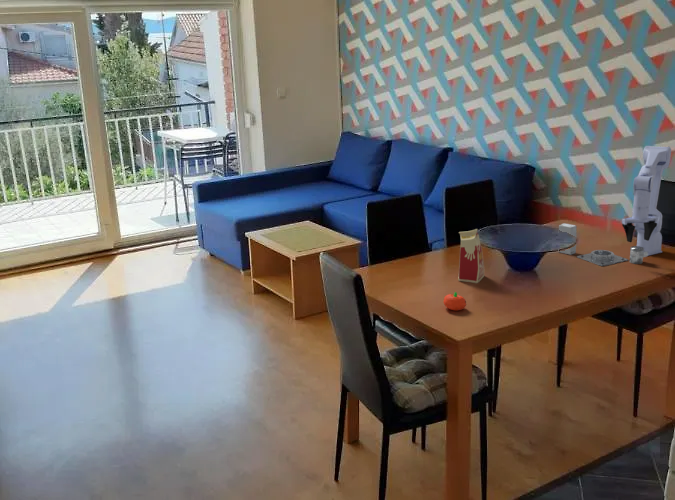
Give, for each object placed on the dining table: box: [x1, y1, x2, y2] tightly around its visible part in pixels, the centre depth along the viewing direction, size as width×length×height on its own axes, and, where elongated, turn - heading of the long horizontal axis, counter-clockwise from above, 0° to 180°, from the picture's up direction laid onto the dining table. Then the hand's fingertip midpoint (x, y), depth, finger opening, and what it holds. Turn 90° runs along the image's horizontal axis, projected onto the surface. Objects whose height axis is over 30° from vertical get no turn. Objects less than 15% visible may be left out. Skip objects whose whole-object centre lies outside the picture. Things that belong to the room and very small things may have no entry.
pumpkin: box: [443, 291, 467, 311], centre depth 245 cm, size 7×8×6 cm
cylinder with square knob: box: [629, 245, 649, 265], centre depth 283 cm, size 5×7×6 cm
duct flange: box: [576, 249, 629, 267], centre depth 290 cm, size 14×14×2 cm
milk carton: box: [457, 228, 485, 284], centre depth 272 cm, size 9×9×20 cm
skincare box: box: [558, 222, 578, 256], centre depth 299 cm, size 6×4×12 cm
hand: (637, 240), depth 278 cm, fingers open, 7 cm apart
